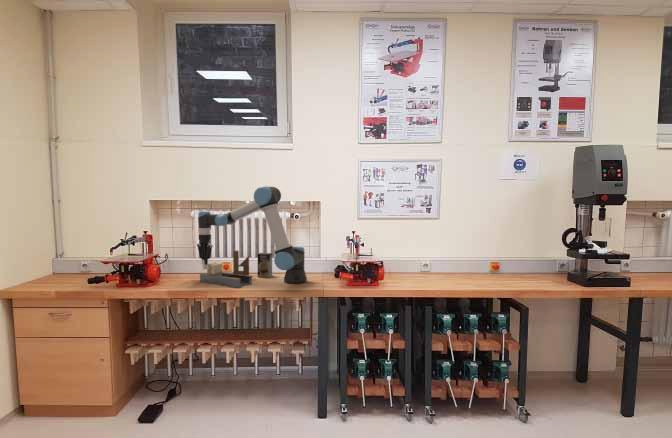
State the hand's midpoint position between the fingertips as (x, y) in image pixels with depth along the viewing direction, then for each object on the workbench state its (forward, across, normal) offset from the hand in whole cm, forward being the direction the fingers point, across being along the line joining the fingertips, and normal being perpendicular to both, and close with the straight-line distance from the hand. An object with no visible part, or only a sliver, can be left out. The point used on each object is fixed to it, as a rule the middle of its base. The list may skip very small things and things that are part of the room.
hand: (204, 269), depth 246 cm
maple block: (+6, -9, 0) cm, 11 cm away
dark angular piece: (+7, -13, -20) cm, 25 cm away
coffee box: (+7, -27, -29) cm, 40 cm away
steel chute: (+7, -19, 0) cm, 20 cm away
